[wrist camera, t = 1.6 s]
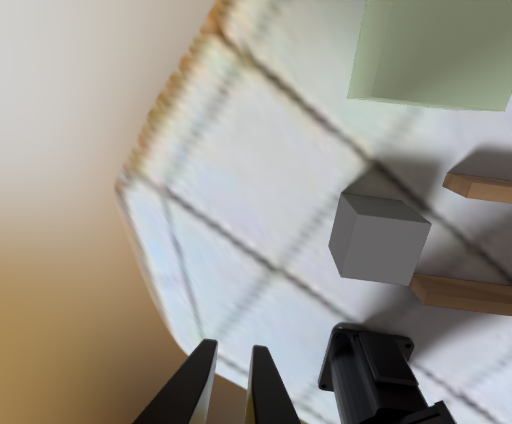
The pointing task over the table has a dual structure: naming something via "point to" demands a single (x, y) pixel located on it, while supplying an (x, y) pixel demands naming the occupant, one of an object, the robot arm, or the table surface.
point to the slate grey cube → (377, 239)
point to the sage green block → (435, 54)
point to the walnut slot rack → (465, 291)
